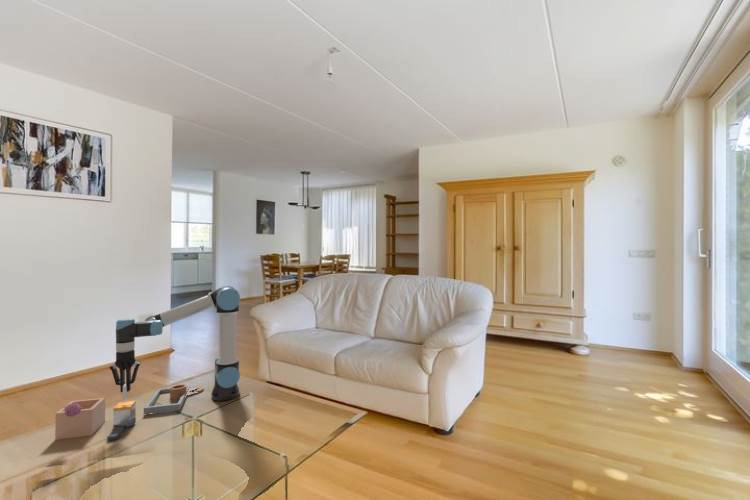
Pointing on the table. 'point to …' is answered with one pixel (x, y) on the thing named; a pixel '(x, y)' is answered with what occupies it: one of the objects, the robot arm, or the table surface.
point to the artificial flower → (72, 409)
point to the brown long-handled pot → (180, 391)
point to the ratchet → (119, 430)
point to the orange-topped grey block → (124, 412)
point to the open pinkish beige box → (81, 419)
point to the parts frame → (163, 408)
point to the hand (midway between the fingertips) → (125, 398)
